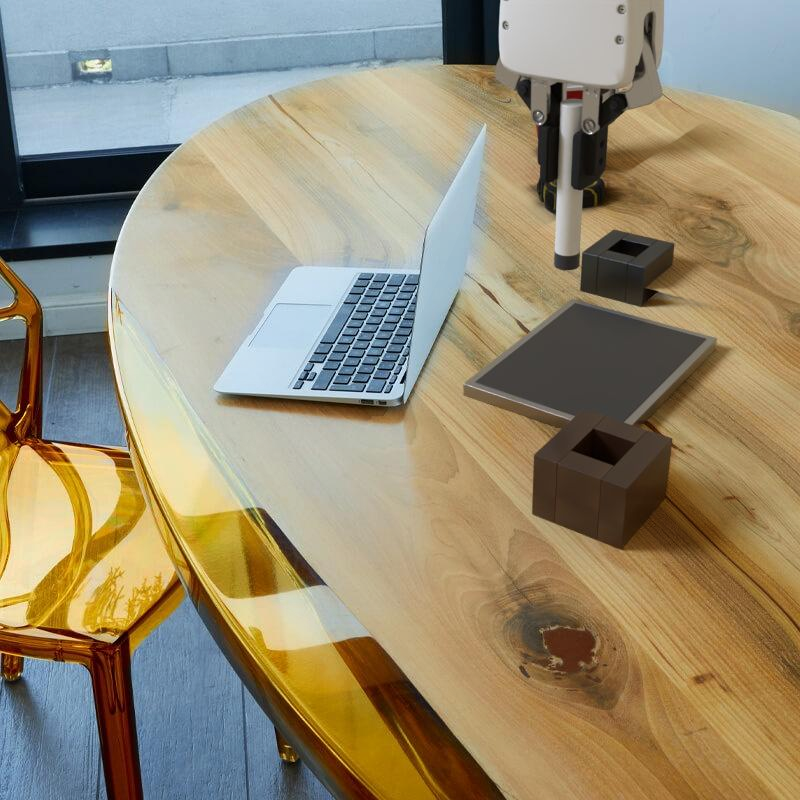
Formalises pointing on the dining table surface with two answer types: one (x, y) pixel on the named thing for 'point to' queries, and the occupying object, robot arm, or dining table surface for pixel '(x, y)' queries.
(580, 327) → the tablet
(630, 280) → the stylus holder
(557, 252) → the stylus
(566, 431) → the pen stand
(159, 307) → the dining table surface
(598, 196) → the tape measure
